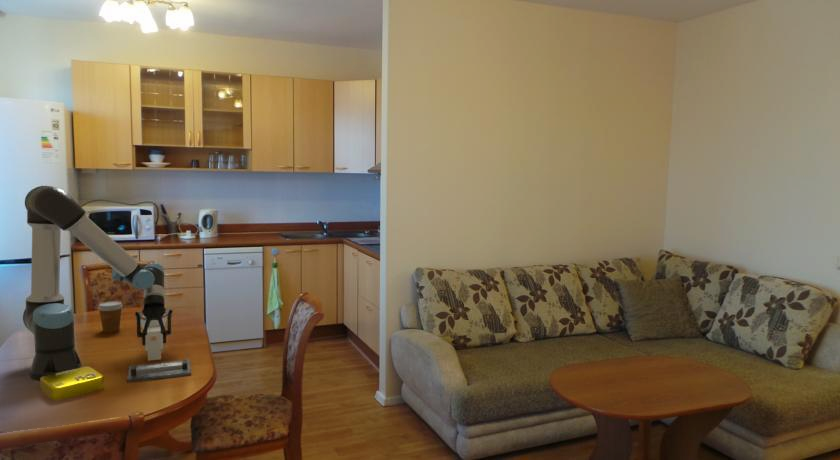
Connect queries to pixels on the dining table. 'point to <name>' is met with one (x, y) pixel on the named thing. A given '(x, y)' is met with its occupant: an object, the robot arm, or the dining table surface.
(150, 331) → the block
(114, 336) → the dining table surface
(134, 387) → the dining table surface
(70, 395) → the element tile
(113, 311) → the disposable coffee cup
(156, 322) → the lidded jar
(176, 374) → the mounting plate
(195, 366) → the dining table surface
